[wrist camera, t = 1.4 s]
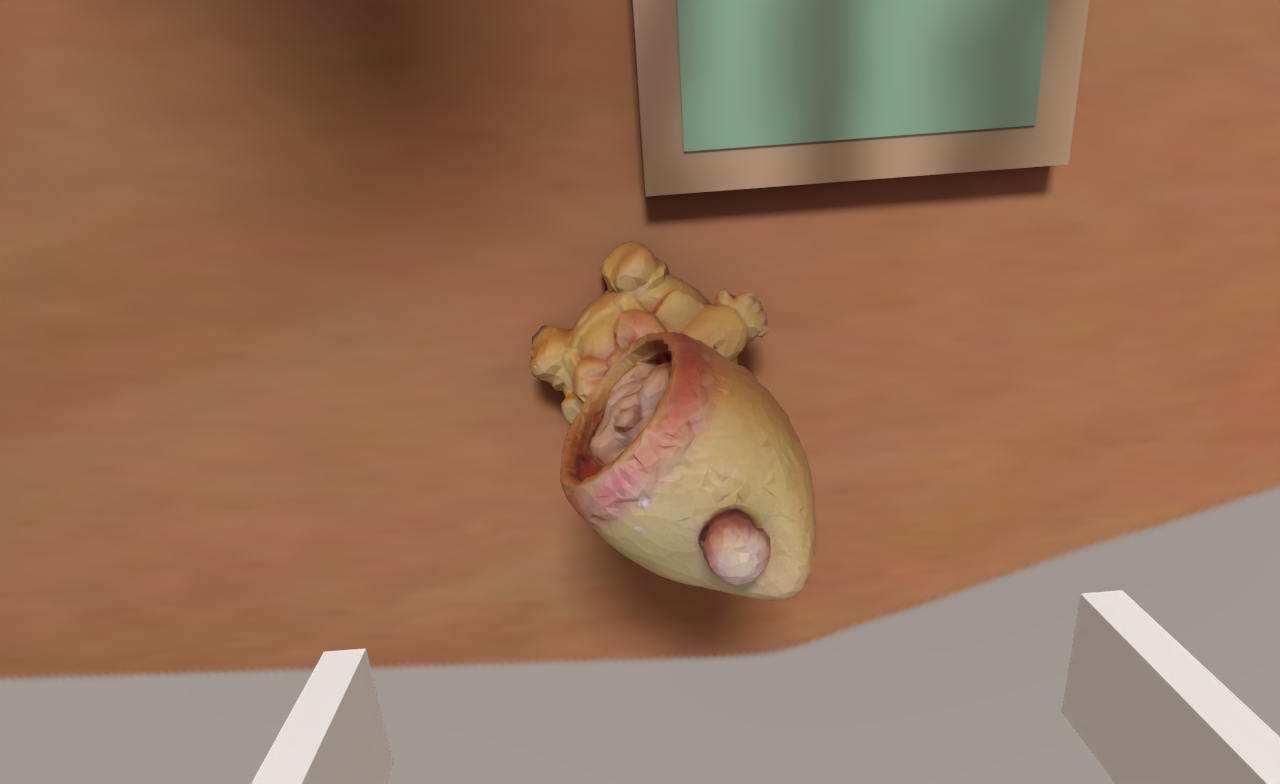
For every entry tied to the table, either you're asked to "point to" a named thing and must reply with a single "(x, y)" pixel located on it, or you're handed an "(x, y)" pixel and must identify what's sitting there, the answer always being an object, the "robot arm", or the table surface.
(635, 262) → the figurine
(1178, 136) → the table surface
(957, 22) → the green framed board
